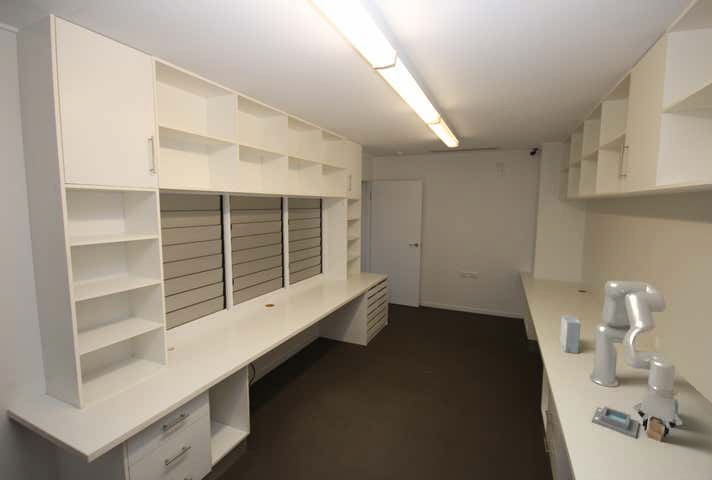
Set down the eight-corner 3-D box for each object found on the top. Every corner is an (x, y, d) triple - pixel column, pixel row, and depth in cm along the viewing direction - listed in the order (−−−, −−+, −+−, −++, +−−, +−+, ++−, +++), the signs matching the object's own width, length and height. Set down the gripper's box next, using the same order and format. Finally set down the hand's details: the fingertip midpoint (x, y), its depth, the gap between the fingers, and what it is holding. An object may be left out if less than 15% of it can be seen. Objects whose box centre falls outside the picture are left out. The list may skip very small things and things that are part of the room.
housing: (597, 409, 160) (598, 402, 160) (639, 423, 150) (639, 416, 149) (591, 422, 151) (592, 414, 150) (635, 438, 140) (636, 430, 140)
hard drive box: (578, 354, 217) (581, 323, 215) (564, 352, 220) (567, 322, 217) (572, 344, 232) (574, 315, 230) (559, 342, 234) (561, 314, 232)
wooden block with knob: (648, 432, 144) (650, 413, 143) (661, 437, 141) (663, 417, 140) (647, 437, 141) (649, 417, 140) (660, 441, 139) (663, 422, 138)
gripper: (689, 394, 136) (684, 437, 138) (633, 379, 148) (629, 418, 150) (689, 402, 130) (683, 446, 133) (631, 385, 142) (627, 426, 144)
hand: (655, 431), depth 141 cm, fingers open, 5 cm apart
